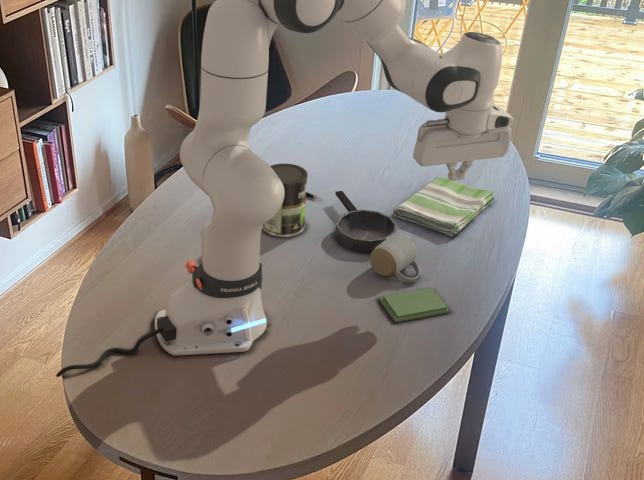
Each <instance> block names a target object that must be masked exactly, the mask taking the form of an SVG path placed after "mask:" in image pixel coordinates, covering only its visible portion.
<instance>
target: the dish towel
mask: <svg viewBox="0 0 644 480" xmlns="http://www.w3.org/2000/svg"><path fill="white" fill-rule="evenodd" d="M493 193H494V192H493V191H492V190H488V189H480V188H476V187H472V186H467V185H464V184H462V183H460V182H458V181H457V180H455V181H450V180H449V179H448V177H444V176H443V177H442V176H436V177H435V178H433V180H431V181H429V183H427V184H425V185H424V186H423V187H421V188H420V189H419V190H418V191H417V192H415V193H414V194H411V195H410V196H409V197H408V198H407V199H405V200H404V202H402V203H401V204H399V205H397V206H395V207H394V208H393V211H392V212H393V213H392V214H393V215H394V216H395V217H396V218H398V219H402V220H404V221H408V222H412V223H414V224H417V225H420V226H422V227H425V228H427V229H431V230H433V231H436V232H438V233H442V234H445V235H447V236H448V237H454V236H455V235H457V234H458V233H459V232H460V231H461V230H462V229H464V228H465V227H466V226H467V225H468V224H469V223H470V222H471V221H472V220H473V219H474V218H475V217H477V215H478V214H480V213H481V212H482V211H484V210H485V209H486V208H487V207H488V206H489V205H490V204H491V203H492V202H493V201H494V200H495V196H493Z"/></svg>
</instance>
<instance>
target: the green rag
mask: <svg viewBox="0 0 644 480" xmlns="http://www.w3.org/2000/svg"><path fill="white" fill-rule="evenodd" d="M379 302H380V303H381V304H382V306H383V308H384V309H385V310H386V312H387V313H388V314H389V316H390V317H391V318H392V320H393V321H394V323H400V322H406V321H411V320H416V319H422V318H427V317H433V316H439V315H443V314H449V310H450V309H449V308H448V306H447V305H446V303H445V302H444V301H443V300H442V298H441V297H440V296H439V295H438V293H437V292H436V291H435V290H434V289H433V287H428V288H427V287H426V288H423V289H417V290H411V291H405V292H400V293H395V294H388V295H383V296H381V297H379Z"/></svg>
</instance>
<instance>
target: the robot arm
mask: <svg viewBox="0 0 644 480" xmlns="http://www.w3.org/2000/svg"><path fill="white" fill-rule="evenodd" d="M406 5H407V0H215V1H214V2H213V3H212V4H211V5H210V7H209V9H208V12H207V15H206V19H205V20H206V21H205V25H204V31H203V36H202V44H201V45H202V47H201V54H200V57H201V58H200V89H199V90H200V91H199V93H200V94H199V110H198V116H197V120H196V123H195V126H194V129H193V130H192V131H190V132H189V133H188V134H187V135H186V137H185V138H184V139H183V141H182V143H181V145H180V149H179V160H180V163H181V166H182V167H183V169H184V172H185V173H186V174H187V176H188V178H189V179H190V180H191V181H192V183H193V184H194V185H195V186H196V187H198V188H199V189H200V190H201V192H203V193H204V194H205V195H207V197H208V198H209V200H210V203H211V205H212V209H213V210H212V216H211V217H212V218H210V219H209V220H208V221H206V222H205V224H204V225H203V226H202V228H201V231H200V239H201V241H200V242H201V261H200V263H199V265H198V266H197V262H196V261H195V260H192V259H191V260H188V261H186V263H185V269H187V272H188V273H189V274H191V279H190V280H189V281H188V282H186V283H185V284H183V285H182V286H181V287H180V288H179V287H178V289H177V290H175V291H173V292H172V293H171V294H170V295H169V296H168V298H167V301H166V303H165V304H166V305H165V308H164V309H162V310H159V311H158V312H157V314H156V315H155V318H154V330H153V331H151V332H149V333H147V334H145V335H143V336H142V337H141V338H139V339H138V340H137V342H136V343H135V345H134V346H133V348H130V349H126V348H120V347H112V348H109V349H107V350H104V352H102V354H101V355H100V357H99V359H98V360H97V361H95V362H92V363H87V364H73V365H68V366H65V367H63V368H61V369H60V370H59V371H58V372H57V373H56V375H55V378H60V377H62V376H63V375H64V374H65V373H66V372H69V371H72V370H85V369H86V370H87V369H92V368H95V367H97V366H99V365H101V364H102V363H103V361H104V360H105V359H106V357H107V356H108V355H109V354H111V353H120V354H121V353H122V354H124V355H125V354H127V355H130V354H134V353H136V352H137V351H138V350H139V348H140V347H141V345H142V344H143V343H144V342H145V341H146V340H149V339H150V338H153V337H154V336H156V339H157V342H158V343H159V345H160V346H161V348H162V349H163V350H164V351H165V352H167V353H168V354H170V355H172V356H190V355H191V356H192V355H208V354H209V355H211V354H228V353H245V352H247V351H249V350H250V348H252V345H253V342H254V341H255V340H257V339H258V338H260V337H261V336H262V335H263V334H264V332H265V331H266V329H267V325H268V319H267V317H266V314H265V310H264V306H263V302H262V293H261V289H262V287H263V286H262V284H263V265H262V263H261V241H262V240H261V238H262V230H263V228H262V227H263V224H264V223H265V222H267V221H269V220H270V219H271V218H273V217H274V216H275V215H276V214H277V212H278V211H279V210H280V208H281V206H282V204H283V201H284V195H285V191H284V186H283V184H282V182H281V180H280V179H279V177H278V176H277V174H276V173H275V172H274V170H273V169H272V168H271V167H270V166H271V165H270V164H269V163H268V162H266V161H265V160H264V159H262V158H261V157H259V155H257V154H256V153H255V152H253V151H252V150H251V147H250V144H249V136H250V133H251V129H252V127H253V126H254V125H256V124H257V123H259V122H260V121H261V120H262V119H263V117H264V116H265V113H266V109H267V108H266V107H267V93H268V79H269V78H268V77H269V62H270V61H269V60H270V58H269V57H270V56H269V54H270V51H269V48H270V45H271V41H272V38H273V36H274V33H275V31H276V30H277V28H278V26H279V25H281V26H283V27H284V28H285V29H287V30H288V31H292V32H294V33H300V34H312V33H315V32H316V33H317V32H319V31H320V30H322V29H324V28H325V27H326V26H327V25H328V24H329V23H330V22H331V21H332V20H333V19H335V17H336V18H337V19H338V20H339V21H340V23H342V25H344V27H346V29H347V30H349V31H350V32H351V33H353V34H354V35H355V36H356V37H357V38H358V37H359V38H360V39H361V40H362V41H365V42H366V43H367V44H368V46H369V47H370V48H371V49H372V51H373V52H374V53H375V54H376V56H377V57H378V59H379V60H380V62H381V66H382V69H383V72H384V77H385V79H386V82H387V83H388V85H389V86H390V87H391V88H393V89H394V90H395V91H397V92H400V93H401V94H403V95H406V96H407V97H409V98H410V99H412V100H414V101H415V102H417V103H419V104H420V105H422V106H424V107H425V108H426V109H428V110H430V111H433V112H435V113H444V118H439V119H438V118H437V119H429V120H426V121H425V122H424V123H422V124H421V125H420V126H419V128H418V130H417V138H416V140H415V144H414V148H413V152H412V157H413V159H414V161H415V162H416V163H417V164H419V166H420V167H432V166H439V165H445V166H446V168H447V170H448V173H447V178H448V179H449V180H450V181H461V180H465V179H466V178H465V177H466V173H467V172H468V171H469V170H470V168H471V167H472V166H473V162H474V161H480V160H489V159H497V158H498V159H499V158H504V157H505V156H506V155H507V154H508V152H509V151H510V147H511V141H512V132H513V131H512V128H511V126H512V125H513V122H514V117H513V116H512V115H511V114H510V113H508V111H506V110H504V109H503V107H502V108H501V107H500V106H499V105H496V104H494V103H495V100H494V93H495V91H496V89H497V86H498V84H499V80H500V76H501V69H502V62H503V47H502V43H501V42H500V41H499V40H498V39H497V38H495V37H494V36H491V35H488V34H486V33H482V32H477V31H468V32H464V33H463V34H462V36H461V38H460V40H459V41H458V42H457V43H456V44H455V45H454V46H453V47H451V48H450V49H448V50H447V51H445V52H443V53H440V52H439V51H436V50H435V49H433V48H431V47H430V46H428V45H427V44H425V43H424V42H422V41H420V40H419V39H417V38H416V39H415V38H414V37H413V38H412V37H408V36H407V35H406V34H405V32H404V31H403V30H402V28H401V27H400V25H399V24H400V22H401V21H402V19H403V17H404V14H405V10H406ZM458 163H461V164H460V166H459V167H458V168H457V164H458Z"/></svg>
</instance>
